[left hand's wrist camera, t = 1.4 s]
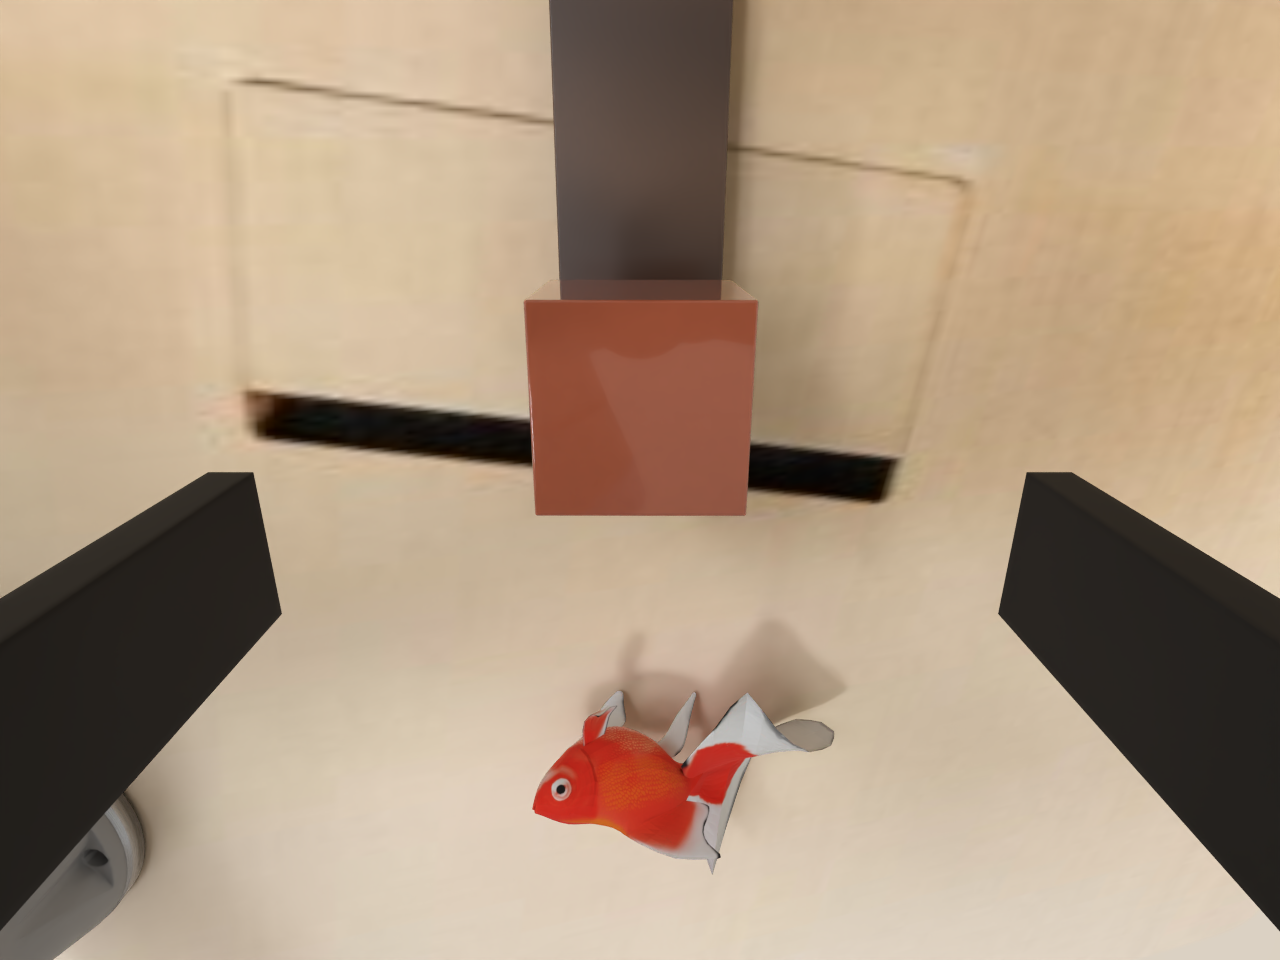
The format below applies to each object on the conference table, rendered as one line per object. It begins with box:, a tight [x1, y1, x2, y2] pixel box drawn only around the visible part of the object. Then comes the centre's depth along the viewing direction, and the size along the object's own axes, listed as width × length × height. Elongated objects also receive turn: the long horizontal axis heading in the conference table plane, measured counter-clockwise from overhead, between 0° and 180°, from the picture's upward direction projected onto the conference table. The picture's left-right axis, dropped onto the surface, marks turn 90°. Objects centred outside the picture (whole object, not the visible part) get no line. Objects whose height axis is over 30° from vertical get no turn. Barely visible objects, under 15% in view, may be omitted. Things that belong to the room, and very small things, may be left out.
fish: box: [532, 691, 834, 874], centre depth 37 cm, size 11×16×10 cm
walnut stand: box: [549, 0, 733, 280], centre depth 26 cm, size 28×7×9 cm, turn 0°
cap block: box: [524, 280, 758, 516], centre depth 23 cm, size 6×6×6 cm
